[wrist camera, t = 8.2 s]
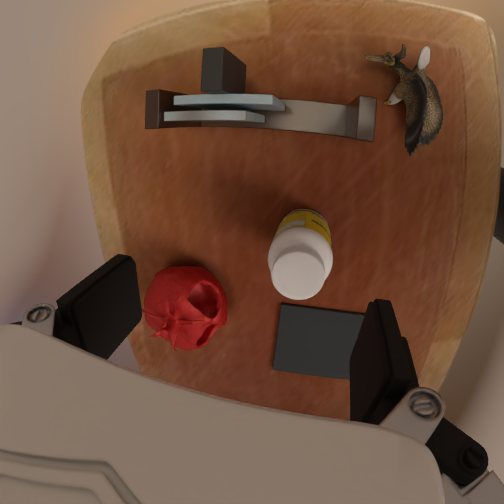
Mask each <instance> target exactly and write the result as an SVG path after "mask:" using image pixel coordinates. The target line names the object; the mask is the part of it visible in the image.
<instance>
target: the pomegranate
mask: <svg viewBox="0 0 504 504" xmlns="http://www.w3.org/2000/svg"><path fill="white" fill-rule="evenodd" d="M227 306H228V302H227V298H226V295H225V292H224V290H223V288H222V286H221V284H220V282H219V281H218V280H217V279H216V278H215V277H214V275H213V274H211V273H210V272H209V271H207V270H206V269H205V268H203V267H200V266H186V265H184V266H180V267H178V266H171V267H169V268H165V269H163V270H161V271H160V272H158V273H157V274H156V275H155V277H154V279H153V281H152V283H151V285H150V287H149V288H148V291H147V292H146V296H145V299H144V309H145V311H144V310H143V309H142V311H143V312H144V313H145V318H146V321H147V324H148V325H149V326H150V327H151V328H152V329H154V330H156V332H157V333H155V334H154V335H152V337H157V336H161V337H162V338H164V339H165V340H166V341H168V342H171V345H172V347H173V348H174V349H175V346H176V347H177V348H179V349H181V350H192V349H198V348H201V347H203V346H205V345H206V344H207V343H208V341H209V339H210V338H211V337H212V336H213V334H214V333H215V331H216V330H217V329H218V328H220V327H221V326H222V325H225V324H226V322H227V314H228V313H227ZM149 337H150V336H149ZM175 350H176V349H175ZM176 351H177V350H176Z"/></svg>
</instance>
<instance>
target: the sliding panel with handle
mask: <svg viewBox="0 0 504 504" xmlns="http://www.w3.org/2000/svg"><path fill="white" fill-rule="evenodd" d="M245 79H246V65H245V64H244V63H243V62H242V61H241V60H239V59H238V58H237V57H236V56H234V55H233V54H232V53H231V52H229V51H228V50H227V49H226V48H224V47H218V48H205V49H203V61H202V77H201V91H203V92H207V93H210V94H200V95H181V96H174V105H179V106H188V107H197V108H204V109H247V110H270V111H285V104H284V103H283V102H281V101H280V100H279V99H278V98H276V97H275V96H274V95H266V94H245Z"/></svg>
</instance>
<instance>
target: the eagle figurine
mask: <svg viewBox="0 0 504 504" xmlns="http://www.w3.org/2000/svg"><path fill="white" fill-rule="evenodd" d="M405 57H406V46H405V45H404V44H402V50H401V51H400V52H399V53H397V54H396V55H394V56H392V54H391V53H390V52H386V53H385V55H380V56H371V55H365V56H364V58H366V59H367V60H368V61H376V62H381V63H382V64H385V65H387V66H389V67H390V68H392V69H393V70H395V71H397V72H398V74H399V76H400V82H399V83H398V84H397V85H396V87H395V88H394V91H393V92H392V95H391V96H390V98H389V99H388V100H387V101H385V102H384V103H385V104H386V105H393V104H396V103H398V102H399V101H401V100H402V99H404V102H405V104H406V110H407V111H406V126H407V130H406V134H405V147H406V148H407V152H408V153H409V155H410V156H411V155H412V153H415V150H416V149H417V146H418V144H419V143H421V145H423V146H424V145H425V144H427V145H428V144H430V141H431V140H432V141H433V140H434V139H435V134H438V132H439V129H440V128H441V125H442V121H443V112H442V105H441V101H440V97H439V94H438V91H437V88H436V86H435V85H434V83H433V81H431V79H429V78H428V77H426V74H425V72H426V66H427V65H428V63H429V61H430V48H429V47H428V46H425V47H424V48H423V49H422V50H421V52H420V55H419V58H418V62H417V65H416V66H415V68H414V69H413V70H412V71H411V70H410V69H408V68H407V67H406V66H405V65H404V64H403V63H401V62H400V59H402V58H405Z"/></svg>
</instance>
